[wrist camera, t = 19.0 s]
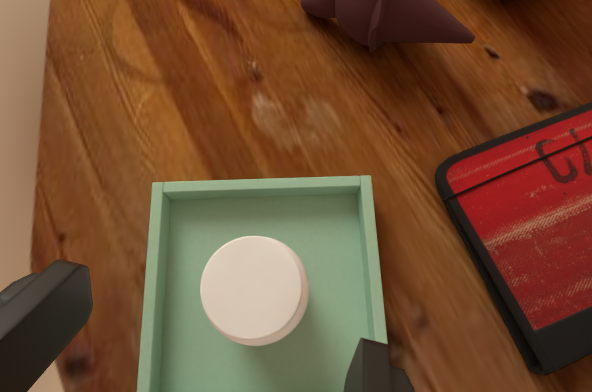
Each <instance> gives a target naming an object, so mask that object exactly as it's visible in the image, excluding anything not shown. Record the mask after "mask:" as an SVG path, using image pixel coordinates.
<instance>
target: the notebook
mask: <svg viewBox="0 0 592 392" xmlns="http://www.w3.org/2000/svg"><path fill="white" fill-rule="evenodd" d="M435 183H436V186H437V189H438V191H439V193H440V195H441V197H442V199H443V202H444V203H445V205H446V207H447V209H448V211H449V213H450V215H451V217H452V219H453V221H454V223H455V225H456V227H457V229H458V231H459V233H460V235H461V237H462V238H463V240H464V242H465V244H466V246H467V248H468V250H469V252H470V254H471V256H472V258H473V260H474V262H475V264H476V265H477V267H478V269H479V271H480V273H481V275H482V277H483V279H484V281H485V283H486V285H487V287H488V289H489V291H490V293H491V295H492V297H493V299H494V301H495V303H496V305H497V307H498V309H499V311H500V313H501V315H502V317H503V319H504V321H505V323H506V325H507V327H508V329H509V331H510V333H511V335H512V337H513V339H514V341H515V343H516V345H517V347H518V349H519V351H520V353H521V354H522V356H523V358H524V360H525V362H526V364H527V367H528V369H529V370H530V371H532V372H534V373H536V374H540V375H549V374H551V373H553V372H555V371H556V370H560V369H562V368H564V367H566V366H567V365H569V364H571V363H573V362H575V361H577V360H579V359H581V358H584V357H586V356H588V355H590V354H592V102H591V103H588V104H585V105H583V106H580V107H577V108H575V109H572V110H569V111H567V112H564V113H561V114H559V115H556V116H553V117H551V118H548V119H545V120H543V121H540V122H537V123H534V124H532V125H529V126H527V127H524V128H521V129H519V130H516V131H513V132H511V133H508V134H506V135H503V136H500V137H498V138H495V139H493V140H490V141H487V142H485V143H482V144H480V145H477V146H475V147H472V148H470V149H467V150H465V151H462V152H460V153H458V154H455V155H453V156H451V157H449V158H447V159H446V160H445V161H444V162H443V163H441V164H440V165H439V166H438V168H437V170H436V173H435Z"/></svg>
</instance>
